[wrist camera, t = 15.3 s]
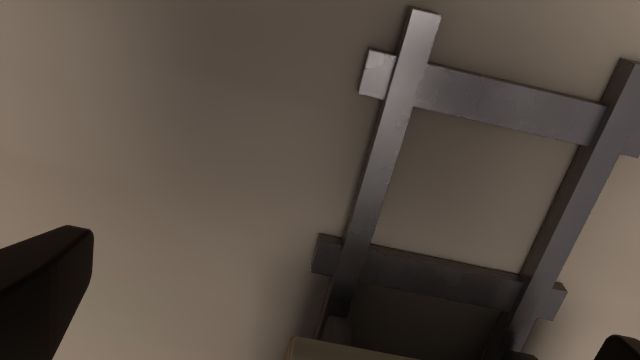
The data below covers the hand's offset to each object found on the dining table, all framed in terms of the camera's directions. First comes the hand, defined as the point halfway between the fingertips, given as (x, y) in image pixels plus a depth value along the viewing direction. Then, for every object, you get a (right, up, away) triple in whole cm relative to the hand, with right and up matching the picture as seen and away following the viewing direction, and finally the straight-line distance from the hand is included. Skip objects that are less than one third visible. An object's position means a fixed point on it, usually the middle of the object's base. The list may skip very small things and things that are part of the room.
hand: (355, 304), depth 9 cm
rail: (+5, -2, +14) cm, 15 cm away
